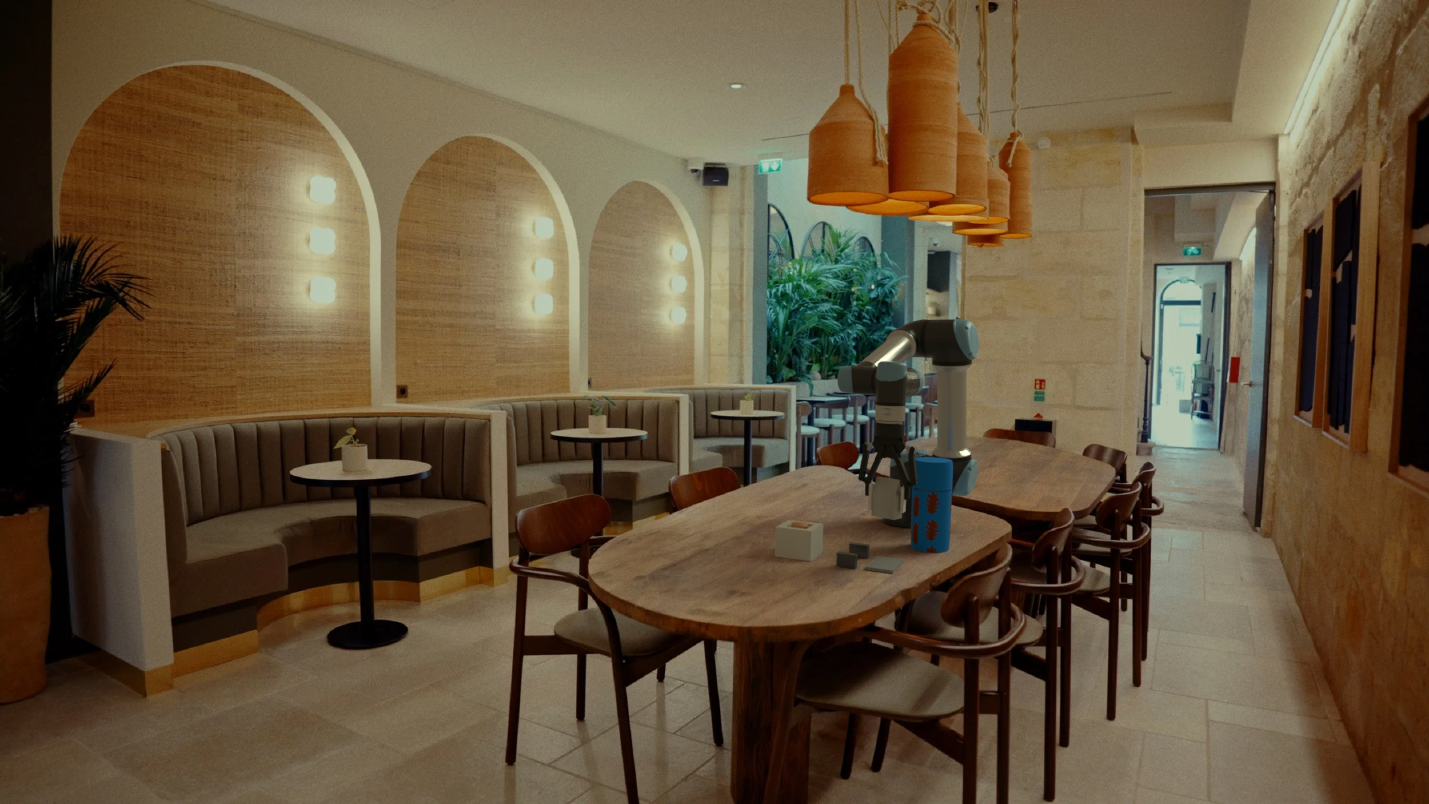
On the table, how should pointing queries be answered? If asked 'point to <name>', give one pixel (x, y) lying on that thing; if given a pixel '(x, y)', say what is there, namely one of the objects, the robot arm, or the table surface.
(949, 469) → the thermos
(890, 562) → the mat
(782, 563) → the table surface
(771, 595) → the table surface
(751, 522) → the table surface
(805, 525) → the plunger
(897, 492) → the tea bag
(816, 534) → the housing
